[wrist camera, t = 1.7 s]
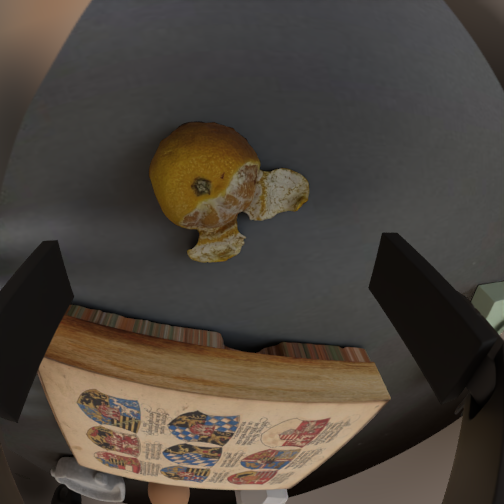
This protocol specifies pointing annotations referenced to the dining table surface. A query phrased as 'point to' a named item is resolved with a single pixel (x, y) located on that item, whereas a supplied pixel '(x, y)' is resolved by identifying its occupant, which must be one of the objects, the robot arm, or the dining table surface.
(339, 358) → the book
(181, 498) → the egg
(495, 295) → the scale
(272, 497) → the chicken leg
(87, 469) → the dish
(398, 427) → the dining table surface
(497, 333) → the robot arm
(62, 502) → the controller
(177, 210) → the fruit
